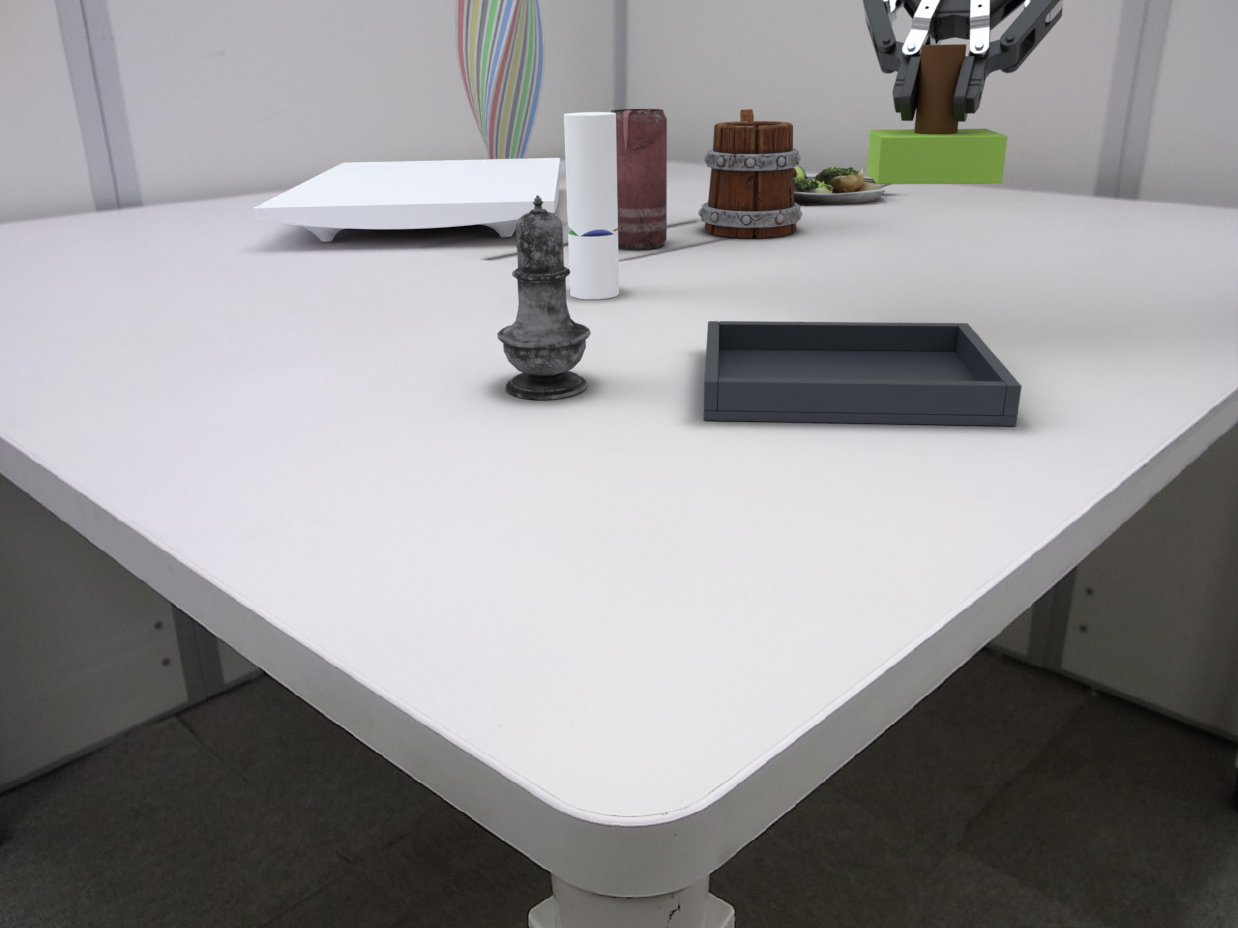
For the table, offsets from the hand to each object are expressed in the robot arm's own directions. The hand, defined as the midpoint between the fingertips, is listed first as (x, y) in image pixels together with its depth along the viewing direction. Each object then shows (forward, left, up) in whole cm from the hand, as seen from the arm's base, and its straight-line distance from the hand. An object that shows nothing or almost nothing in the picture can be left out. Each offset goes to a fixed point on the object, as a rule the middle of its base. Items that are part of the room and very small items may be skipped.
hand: (932, 112), depth 66 cm
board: (+51, -59, -16) cm, 79 cm away
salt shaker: (+25, +10, -16) cm, 31 cm away
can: (+23, -39, -16) cm, 48 cm away
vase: (+49, -97, -16) cm, 109 cm away
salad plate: (+1, -76, -16) cm, 77 cm away
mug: (+11, -50, -16) cm, 53 cm away
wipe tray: (+6, +9, -16) cm, 19 cm away
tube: (+25, -16, -16) cm, 33 cm away
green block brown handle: (-1, -2, -4) cm, 5 cm away
